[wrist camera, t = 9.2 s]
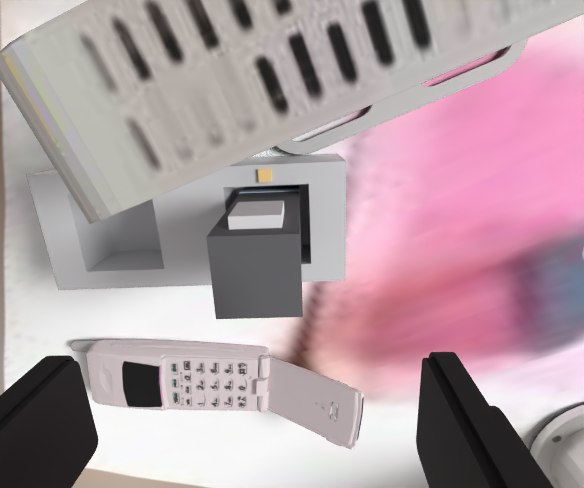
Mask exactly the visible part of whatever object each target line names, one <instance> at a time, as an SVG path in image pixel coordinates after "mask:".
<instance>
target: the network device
mask: <svg viewBox="0 0 584 488" xmlns="http://www.w3.org/2000/svg"><path fill="white" fill-rule="evenodd" d="M582 14H584V0H88V1H86V2H84V3H82V4H80V5H78V6H76V7H74V8H72V9H71V10H69V11H67V12H65V13H63V14H61V15H59V16H57V17H55V18H54V19H52V20H50V21H48V22H46V23H44V24H42V25H40V26H39V27H37V28H35V29H33V30H31V31H29V32H27V33H25V34H23V35H22V36H20V37H18V38H17V39H15V40H14V41H12V42H10V43H9V44H8V45H7V46H6V47H4V48H3V49H2V50H1V51H0V79H1V80H2V82H3V84H4V85H5V87H6V89H7V90H8V92H9V93H10V95H11V97H12V98H13V100H14V102H15V103H16V105H17V107H18V108H19V110H20V111H21V113H22V115H23V116H24V118H25V120H26V121H27V123H28V124H29V126H30V128H31V129H32V131H33V133H34V134H35V136H36V138H37V139H38V141H39V142H40V144H41V146H42V147H43V149H44V151H45V152H46V154H47V155H48V157H49V159H50V160H51V162H52V164H53V165H54V167H55V169H56V170H57V172H58V173H59V175H60V177H61V178H62V180H63V182H64V183H65V185H66V186H67V188H68V190H69V191H70V193H71V195H72V196H73V198H74V199H75V201H76V203H77V204H78V206H79V208H80V209H81V211H82V213H83V214H84V216H85V217H86V219H87V221H88V222H89V224H91V223H95V222H97V221H100V220H102V219H105V218H107V217H110V216H112V215H114V214H117V213H119V212H122V211H124V210H127V209H129V208H132V207H134V206H137V205H139V204H141V203H144V202H146V201H149V200H151V199H153V198H156V197H158V196H160V195H163V194H165V193H167V192H170V191H172V190H174V189H177V188H179V187H181V186H184V185H186V184H188V183H191V182H193V181H195V180H197V179H200V178H202V177H204V176H207V175H209V174H211V173H214V172H216V171H218V170H221V169H223V168H225V167H228V166H230V165H232V164H235V163H237V162H239V161H242V160H244V159H246V158H249V157H251V156H253V155H256V154H258V153H260V152H263V151H265V150H267V149H270V148H272V147H274V146H277V147H278V148H280V149H281V150H283V151H286V152H288V153H292V154H298V155H300V154H309V153H312V152H315V151H318V150H320V149H323V148H325V147H327V146H330V145H332V144H334V143H337V142H339V141H342V140H344V139H346V138H349V137H351V136H354V135H356V134H358V133H361V132H363V131H365V130H368V129H370V128H373V127H375V126H377V125H380V124H382V123H385V122H387V121H389V120H392V119H394V118H396V117H399V116H401V115H404V114H406V113H408V112H411V111H413V110H416V109H418V108H420V107H423V106H425V105H427V104H430V103H432V102H435V101H437V100H439V99H442V98H444V97H447V96H449V95H451V94H454V93H456V92H458V91H461V90H463V89H466V88H468V87H470V86H473V85H475V84H478V83H480V82H482V81H485V80H487V79H489V78H492V77H494V76H496V75H498V74H500V73H502V72H504V71H505V70H506V69H508V68H509V67H510V66H511V65H513V64H514V62H515V61H516V60H517V59H518V58H519V56H520V55H521V53H522V52H523V50H524V48H525V46H526V44H527V41H528V38H529V37H531V36H533V35H536V34H538V33H540V32H543V31H545V30H547V29H550V28H552V27H554V26H557V25H559V24H561V23H564V22H566V21H568V20H571V19H573V18H575V17H578V16H580V15H582ZM505 47H507V48H506V49H505V51H504V52H503V54H502V55H501V56H500V57H498V58H497V59H495V60H493V61H491V62H488V63H486V64H483V65H481V66H479V67H476V68H474V69H472V70H469V71H467V72H465V73H462V74H460V75H458V76H455V77H453V78H451V79H448V80H446V81H444V82H441V83H439V84H437V85H434V86H429V87H428V86H424V85H422V84H421V83H424V82H426V81H428V80H431V79H433V78H435V77H438V76H440V75H442V74H445V73H447V72H449V71H452V70H454V69H456V68H459V67H461V66H463V65H466V64H468V63H470V62H473V61H475V60H477V59H480V58H482V57H484V56H487V55H489V54H491V53H494V52H496V51H498V50H501V49H503V48H505ZM370 105H371V106H370ZM368 106H370V108H369V110H368V111H367V113H365V114H364V115H363V116H361V117H359V118H357V119H354V120H352V121H350V122H347V123H345V124H343V125H340V126H338V127H336V128H333V129H331V130H328V131H326V132H324V133H321V134H319V135H317V136H314V137H312V138H310V139H307V140H305V141H300V142H298V141H293V140H291V139H293V138H295V137H298V136H300V135H302V134H305V133H307V132H309V131H312V130H314V129H316V128H319V127H321V126H323V125H326V124H328V123H330V122H333V121H335V120H337V119H340V118H342V117H344V116H347V115H349V114H351V113H354V112H356V111H358V110H361V109H363V108H365V107H368Z"/></svg>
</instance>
